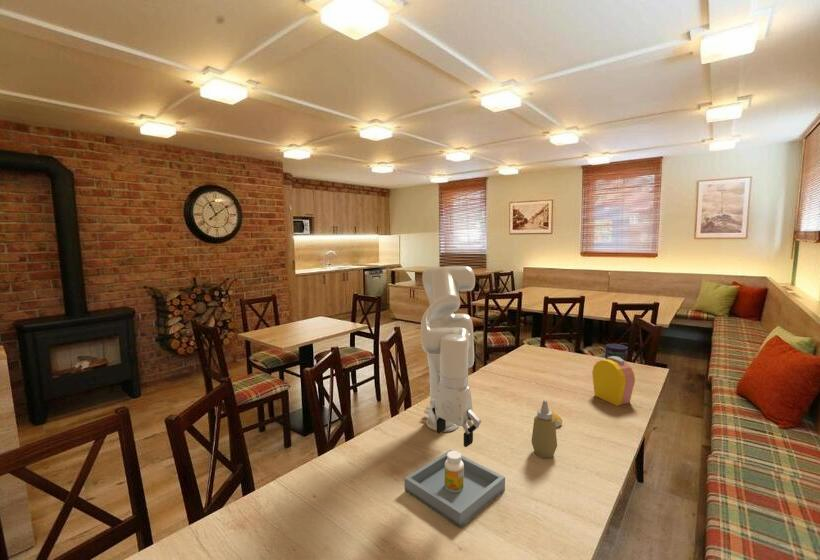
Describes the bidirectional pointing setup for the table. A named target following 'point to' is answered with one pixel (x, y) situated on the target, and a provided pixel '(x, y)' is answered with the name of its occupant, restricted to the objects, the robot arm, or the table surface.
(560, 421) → the bread roll
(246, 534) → the table surface
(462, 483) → the supplement bottle
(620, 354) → the storage jar
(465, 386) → the robot arm
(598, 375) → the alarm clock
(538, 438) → the squeeze bottle
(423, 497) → the box
